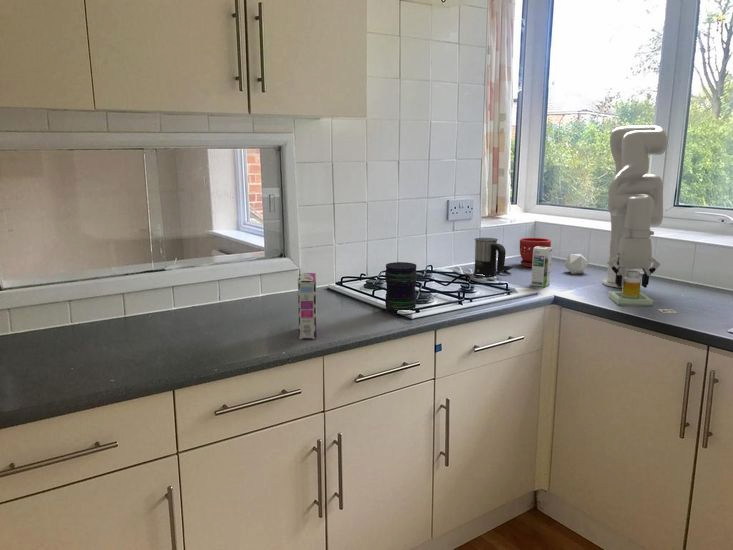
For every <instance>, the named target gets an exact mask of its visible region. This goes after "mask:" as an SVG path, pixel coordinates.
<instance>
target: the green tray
mask: <svg viewBox="0 0 733 550" xmlns="http://www.w3.org/2000/svg"><path fill="white" fill-rule="evenodd" d="M621 295H622V291H608V295H607V296H608V298H609V299H610V300H611V301H612V302H613V303H614V304H615V305H616V306H632V307H653V306H654V299H652V298H650V297H649V296H648V295H646V293H644V292H642V291H640V293H639V299H625V298H621Z"/></svg>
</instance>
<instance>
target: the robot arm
mask: <svg viewBox="0 0 733 550" xmlns="http://www.w3.org/2000/svg"><path fill="white" fill-rule="evenodd" d="M609 146H610V147H609V148H610V153H611V156H612V158H613V160H614V164H615V165H614V166H615V175H614V177H613V178H612V180H611V182H610V183H609V186H608V193H607V209H608V212H609V213H610V231H611V232H610V243H609V253H608V254H609V256H608V261H607V265H608V266H607V277H606V278H603V279H602V282H601V283H602V284H603V285H604V286H608V287H612V288H620V289H622V287H623V279H624V277H627V275H626V272H627V271H628V270H634V271H637V270H639V269H641V270H642V271H643V274H641V275H642V276H641V284H640V286H642V287H643V288H645V289H646V288H648V287H647V286H648V285H649V282H650V276H651V275H652V274H653V273H654V272H655V271H656V270H657V269H659V267H660V266H661V263H660V262H659V261H658V260H656V259H655V258H653V251H652V250H653V249H652V239H651V238H650V236H654V234H655V231H654V230H651V228H657V227H659V226H661V224H662V222H663V218H664V185H663V184H664V182H663V180H662V178H661V176H659V175H658V174H654V173H648V172H649V169H650V166H649V163H650V162H649V156H651V155H652V156H654V155H656V156H659V155H660V156H661V155H663V154H664V153H665V152H666V151H667V147H668V136H667V133H666V131H665V130H664V129H663V128H662V127H661V126H659V125H625V126H619V127H616V128H614V129H613V130H612V131H611V133H610V139H609Z"/></svg>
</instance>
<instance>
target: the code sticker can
mask: <svg viewBox="0 0 733 550" xmlns="http://www.w3.org/2000/svg"><path fill="white" fill-rule="evenodd" d="M657 310H658V311H659V312H661V314H677V311H676V310H674V309H669V308H668V309H667V308H657Z"/></svg>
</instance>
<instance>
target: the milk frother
mask: <svg viewBox="0 0 733 550" xmlns="http://www.w3.org/2000/svg"><path fill="white" fill-rule="evenodd" d="M474 241H475V243H474V244H475V245H474V272H473V274H474V273H475V274H483V275H485V276H484V277H490V276H489V275H494V276H497V273H502V272H504V273H506V272H508V271H509V270H512V269H514V268H515V265H510V266H509V265H505V261H506V248H505V247H504V245H502V244H500V243H498V238H495V237H476V238H474ZM494 276H493V277H494Z"/></svg>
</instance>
